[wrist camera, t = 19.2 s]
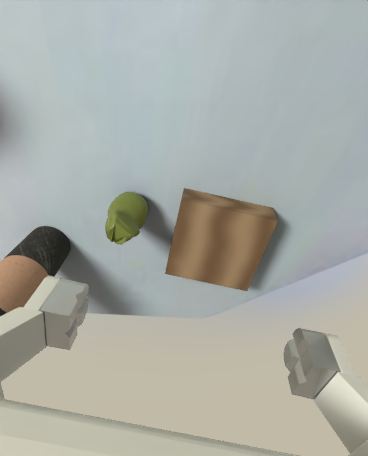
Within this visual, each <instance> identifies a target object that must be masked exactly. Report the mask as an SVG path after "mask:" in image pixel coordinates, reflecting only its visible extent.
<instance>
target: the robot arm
mask: <svg viewBox="0 0 368 456" xmlns="http://www.w3.org/2000/svg"><path fill="white" fill-rule="evenodd" d="M88 292H89V285H88V284H84V283H80V282H76V281H71V280H67V279H63V278H58V277H53V276H47V277H46V278H45V279H44V280H43V281H42V283H41V284H40V285H39V287H38V288H37V290H36V291H35V292H34V294H33V295H32V296H31V298H30V299H29V301H28V302H27V303H26V305H25V306H24V307H18V308H16V309H14V310H12V311H10V312H8V313H6V314H4V315H2V316H0V456H298V455H293V454H287V453H282V452H277V451H271V450H266V449H261V448H256V447H251V446H245V445H240V444H234V443H230V442H224V441H219V440H214V439H209V438H204V437H199V436H193V435H188V434H183V433H178V432H172V431H167V430H162V429H156V428H151V427H146V426H141V425H136V424H130V423H125V422H120V421H115V420H109V419H104V418H99V417H94V416H89V415H83V414H78V413H73V412H68V411H62V410H57V409H52V408H46V407H41V406H36V405H31V404H26V403H20V402H15V401H10V400H5V399H4V395H3V391H2V387H1V381H2V380H3V379H5V378H6V377H8V376H9V375H10V374H12V373H13V372H14V371H16V370H17V369H18V368H19V367H21V366H22V365H23V364H25V363H26V362H27V361H29V360H30V359H31V358H33V357H34V356H35V355H36V354H38V353H39V352H40V351H42V350H43V349H44V348H46V346H50V347H56V348H62V349H67V350H70V348H71V346H72V344H73V342H74V340H75V338H76V336H77V327H78V326H80V325H81V324H82V323H83V320H84V318H85V315H86V312H87V308H88V299H87V297H86V296H87V294H88ZM293 337H294V339H292V340H290V341H288V343H287V344H286V346H285V349H284V362H285V366H286V367H287V368H288V370H289V371H290V374H289V376H288V380H289V384H290V388H291V392H292V394H293V395H298V396H302V397H306V398H310V399H314V402H315V403H316V404H317V406H318V408H319V409H320V410H321V412H322V413H323V415H324V416H325V418H326V419H327V421H328V422H329V424H330V425H331V426H332V428H333V429H334V431H335V432H336V434H337V435H338V436H339V438H340V439H341V441H342V442H343V444H344V445H345V447H346V448H347V450H348V451H349V452H350V455H349V456H368V384H367V383H366V382H365V381H364V380H362V378H361V377H360V376H356V375H355V373H354V371H353V368H352V366H351V364H350V361H349V359H348V357H347V355H346V352H345V350H344V348H343V346H342V343H341V341H340V339H339V338H338V337H337V336H335V335H330V334H326V333H321V332H316V331H311V330H306V329H301V328H298V329H296V330H295V331H294V333H293Z"/></svg>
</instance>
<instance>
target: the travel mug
mask: <svg viewBox="0 0 368 456" xmlns="http://www.w3.org/2000/svg"><path fill="white" fill-rule="evenodd" d="M69 252H70V242H69V240H68V238H67V237H66V236H65V235H64V234H63V233H62V232H61V231H59V230H58V229H56V228H53V227H49V226H42V227H38V228H36V229H35V230H34V231H32V232H31V233H30V234H29V235H28V236H27V237H26V238H25V239H24V240H23V241H22V242H21V243H20V244H19V245H17V246H16V247H15V248H14V249H13V250H12V251H11V252H10V253H9V254H8V255H7V256H6V257H5V258H4V259H3V260H2V261H1V262H0V316H2V315H4V314H6V313H8V312H10V311H12V310H14V309H16V308H18V307H24V306H25V305H26V303H27V302H28V301H29V299H30V298H31V296H32V295H33V294H34V292H35V291H36V290H37V288H38V287H39V285H40V284H41V283H42V281H43V280H44V279H45V278H46V277H47V276H53V277H54V276H55V275H56V273H57V272H58V270H59V268H60V267H61V265H62V264H63V262H64V260H65V259H66V257H67V255H68V254H69Z"/></svg>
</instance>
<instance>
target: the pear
mask: <svg viewBox="0 0 368 456" xmlns="http://www.w3.org/2000/svg"><path fill="white" fill-rule="evenodd" d="M147 215H148V205H147V203H146V201H145V199H144V198H143V197H142V196H141V195H139V194H137V193H135V192H125V193H123V194H121V195H119V196H118V197H117V198H116V199H115V200H114V201H113V202H112V203H111V205H110V207H109V210H108V218H107V221H106V233H107V238H108V239H110V241H112V242H113V241H114V242H115V243H116V244H123V243H124V242H126V241H128V240H130V239H132V238H133V237H135V236H137V235H138V234H139V232H140V230H139V229H140V228H141V227H142V226H143V224H144V222H145V220H146V218H147Z"/></svg>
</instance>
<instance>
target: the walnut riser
mask: <svg viewBox="0 0 368 456" xmlns="http://www.w3.org/2000/svg"><path fill="white" fill-rule="evenodd" d="M277 222H278V220H277V217H276V215H275V212H274V209H273V208H270V207H266V206H261V205H257V204H253V203H248V202H244V201H239V200H235V199H230V198H226V197H221V196H217V195H212V194H208V193H203V192H199V191H194V190H190V189H185V188H184V191H183V195H182V200H181V204H180V209H179V213H178V218H177V222H176V227H175V231H174V235H173V240H172V244H171V249H170V253H169V258H168V263H167V267H166V272H165V274H169V275H173V276H178V277H183V278H188V279H192V280H197V281H202V282H207V283H211V284H216V285H221V286H225V287H230V288H235V289H240V290H244V291H247V290H248V288H249V285H250V283H251V281H252V279H253V276H254V274H255V272H256V270H257V267H258V265H259V263H260V261H261V258H262V256H263V254H264V252H265V249H266V247H267V245H268V243H269V240H270V238H271V236H272V234H273V231H274V229H275V227H276V224H277Z"/></svg>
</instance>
